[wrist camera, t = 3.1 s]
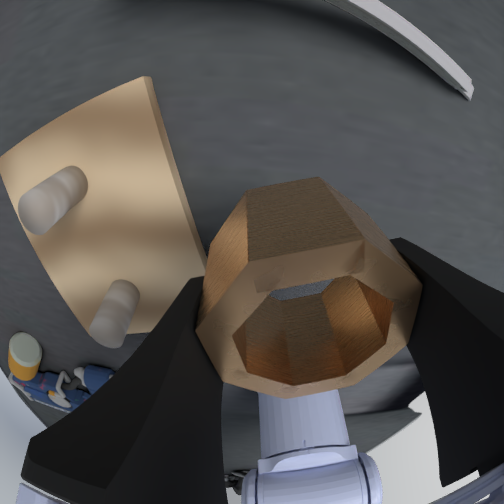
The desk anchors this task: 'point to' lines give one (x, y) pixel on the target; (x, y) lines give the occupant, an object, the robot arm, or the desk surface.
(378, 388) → the desk surface
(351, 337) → the ring
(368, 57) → the desk surface
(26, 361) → the toy blaster gun
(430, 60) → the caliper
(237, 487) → the bicycle component
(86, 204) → the wooden peg board
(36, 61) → the desk surface
